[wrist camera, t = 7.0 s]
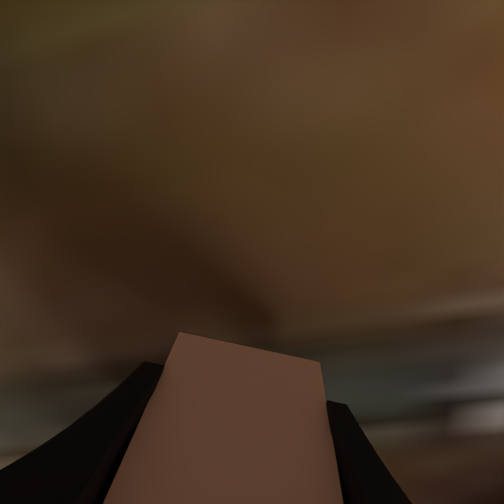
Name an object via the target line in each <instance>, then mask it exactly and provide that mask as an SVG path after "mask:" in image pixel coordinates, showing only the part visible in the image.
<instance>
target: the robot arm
mask: <svg viewBox="0 0 504 504" xmlns="http://www.w3.org/2000/svg"><path fill="white" fill-rule="evenodd" d="M163 370H164V365H159V364H155V363H150V362H143V363H141V364H140V365H139V366H138V367H137V368H136V369H135V370H134V371H133V372H132V373H131V374H130V375H129V376H128V377H127V378H126V379H125V380H124V381H123V382H122V383H121V384H120V385H119V386H118V387H116V388H115V389H114V390H113V391H112V392H111V393H110V394H108V395H107V396H106V397H105V398H104V399H103V400H101V401H100V402H99V403H98V404H97V405H96V406H94V407H93V408H92V409H91V410H89V411H88V412H87V413H85V414H84V415H83V416H82V417H80V418H79V419H78V420H76V421H75V422H74V423H72V424H71V425H70V426H68V427H67V428H66V429H64V430H63V431H62V432H60V433H59V434H57V435H56V436H54V437H53V438H51V439H50V440H48V441H47V442H45V443H44V444H42V445H41V446H39V447H38V448H36V449H35V450H33V451H31V452H30V453H28V454H27V455H25V456H23V457H22V458H20V459H18V460H17V461H15V462H13V463H12V464H10V465H8V466H6V467H5V468H3V469H1V470H0V504H103V503H104V500H105V498H106V496H107V494H108V491H109V489H110V487H111V485H112V482H113V480H114V478H115V476H116V473H117V471H118V469H119V467H120V464H121V462H122V460H123V458H124V455H125V453H126V451H127V449H128V446H129V444H130V442H131V440H132V437H133V435H134V433H135V431H136V428H137V426H138V424H139V422H140V419H141V417H142V415H143V413H144V410H145V408H146V406H147V404H148V402H149V400H150V398H151V396H152V395H153V393H154V391H155V389H156V386H157V384H158V382H159V380H160V377H161V375H162V373H163ZM326 408H327V414H328V420H329V426H330V431H331V435H332V439H333V444H334V450H335V456H336V462H337V468H338V474H339V480H340V486H341V492H342V498H343V504H412V503H411V502H410V500H409V499H408V497H407V496H406V495H405V493H404V492H403V491H402V489H401V488H400V487H399V485H398V484H397V482H396V481H395V480H394V478H393V477H392V475H391V474H390V473H389V471H388V470H387V468H386V467H385V465H384V464H383V462H382V461H381V459H380V458H379V456H378V455H377V453H376V451H375V450H374V448H373V447H372V445H371V444H370V442H369V440H368V439H367V437H366V436H365V434H364V432H363V431H362V429H361V427H360V426H359V424H358V422H357V421H356V419H355V418H354V416H353V414H352V413H351V411H350V409H349V408H348V406H347V405H346V404H341V403H337V402H332V401H327V402H326Z"/></svg>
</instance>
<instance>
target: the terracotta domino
mask: <svg viewBox="0 0 504 504" xmlns="http://www.w3.org/2000/svg"><path fill="white" fill-rule="evenodd" d="M326 402H327V401H326V395H325V389H324V383H323V377H322V371H321V365H320V362H317V361H313V360H308V359H303V358H299V357H294V356H290V355H285V354H280V353H276V352H271V351H266V350H262V349H257V348H252V347H248V346H243V345H239V344H234V343H229V342H225V341H220V340H215V339H211V338H206V337H201V336H197V335H192V334H188V333H183V332H179V334H178V336H177V338H176V341H175V343H174V345H173V347H172V350H171V352H170V354H169V356H168V359H167V361H166V363H165V365H164V370H163V373H162V375H161V377H160V380H159V382H158V384H157V386H156V389H155V391H154V393H153V395H152V396H151V398H150V400H149V402H148V404H147V406H146V408H145V410H144V413H143V415H142V417H141V419H140V422H139V424H138V426H137V428H136V431H135V433H134V435H133V437H132V440H131V442H130V444H129V446H128V449H127V451H126V453H125V455H124V458H123V460H122V462H121V464H120V467H119V469H118V471H117V473H116V476H115V478H114V480H113V482H112V485H111V487H110V489H109V491H108V494H107V496H106V498H105V500H104V503H103V504H343V498H342V492H341V486H340V480H339V474H338V468H337V462H336V456H335V450H334V444H333V439H332V435H331V431H330V426H329V420H328V414H327V408H326Z"/></svg>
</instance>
